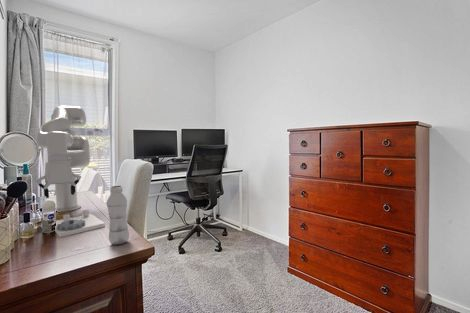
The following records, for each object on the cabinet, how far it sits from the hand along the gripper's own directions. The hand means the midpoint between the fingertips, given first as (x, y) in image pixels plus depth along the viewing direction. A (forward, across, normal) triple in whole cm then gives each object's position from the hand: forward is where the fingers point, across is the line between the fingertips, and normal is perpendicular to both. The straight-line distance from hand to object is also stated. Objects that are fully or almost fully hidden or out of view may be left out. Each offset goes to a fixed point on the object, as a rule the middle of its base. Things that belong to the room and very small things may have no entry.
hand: (60, 196), depth 117 cm
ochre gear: (+11, 0, -1) cm, 11 cm away
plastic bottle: (+13, -9, +47) cm, 50 cm away
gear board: (+12, -3, +14) cm, 19 cm away
